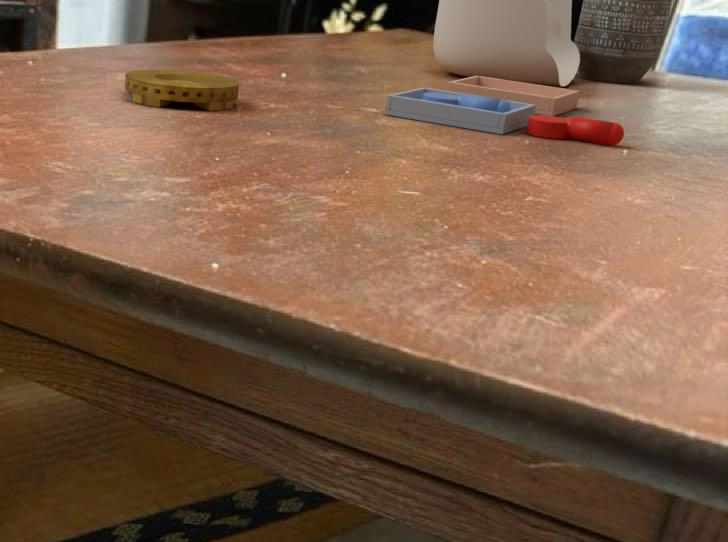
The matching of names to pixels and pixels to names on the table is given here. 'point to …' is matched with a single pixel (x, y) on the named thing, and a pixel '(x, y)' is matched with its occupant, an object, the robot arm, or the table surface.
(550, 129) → the red spoon
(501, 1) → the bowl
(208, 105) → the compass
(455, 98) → the blue spoon
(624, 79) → the planter
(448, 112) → the blue tray
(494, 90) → the rose tray
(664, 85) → the table surface
